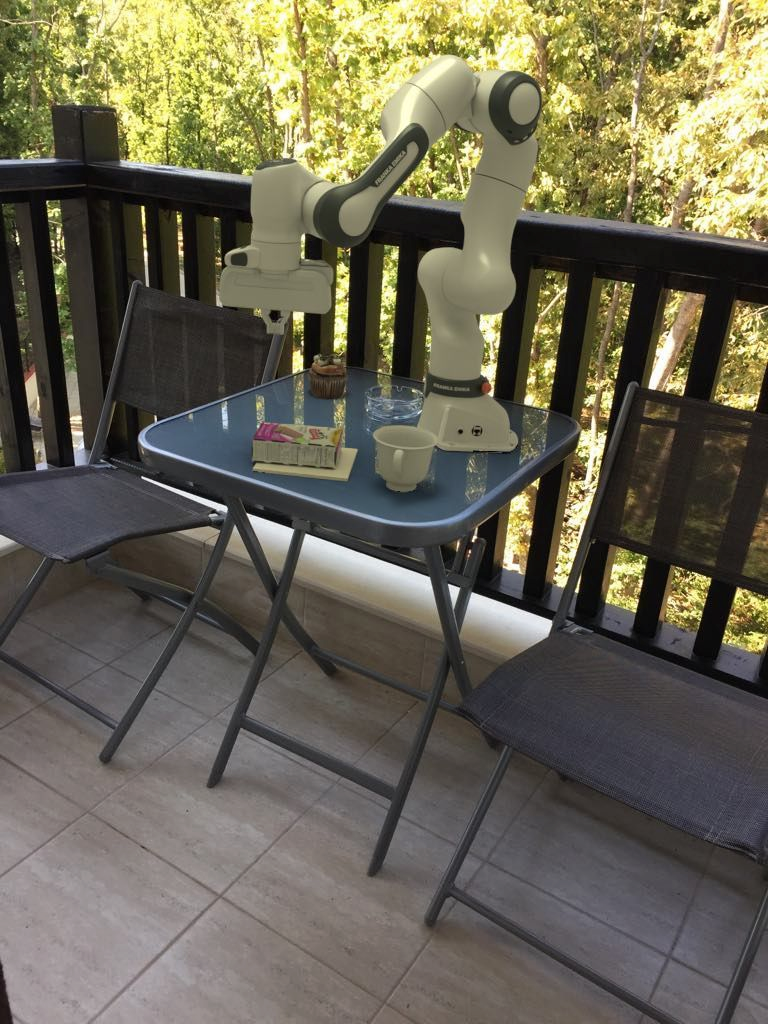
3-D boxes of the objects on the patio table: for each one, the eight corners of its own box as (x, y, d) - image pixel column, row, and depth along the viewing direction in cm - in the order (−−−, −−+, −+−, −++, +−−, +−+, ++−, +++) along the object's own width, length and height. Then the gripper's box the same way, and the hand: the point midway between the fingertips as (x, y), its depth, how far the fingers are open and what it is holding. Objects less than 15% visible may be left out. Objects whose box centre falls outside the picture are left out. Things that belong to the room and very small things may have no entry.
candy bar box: (261, 419, 173) (343, 427, 172) (261, 443, 175) (341, 450, 174) (251, 437, 162) (337, 446, 162) (250, 462, 164) (336, 470, 164)
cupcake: (353, 398, 208) (355, 358, 204) (315, 401, 204) (317, 360, 200) (337, 387, 216) (339, 347, 212) (301, 389, 212) (302, 349, 208)
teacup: (360, 500, 154) (363, 448, 150) (375, 470, 167) (379, 421, 163) (426, 509, 152) (432, 457, 148) (437, 479, 166) (442, 429, 162)
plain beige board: (357, 451, 176) (357, 448, 176) (347, 481, 161) (347, 478, 161) (270, 442, 177) (270, 439, 176) (252, 471, 162) (252, 468, 162)
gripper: (336, 258, 155) (333, 334, 161) (224, 249, 157) (226, 325, 163) (331, 263, 150) (328, 342, 156) (215, 254, 151) (217, 333, 157)
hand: (275, 333), depth 159 cm, fingers closed
